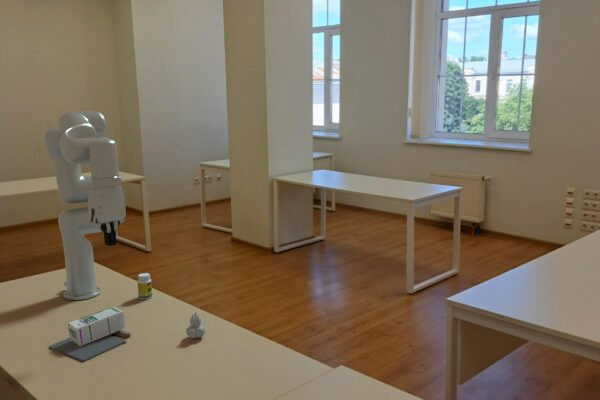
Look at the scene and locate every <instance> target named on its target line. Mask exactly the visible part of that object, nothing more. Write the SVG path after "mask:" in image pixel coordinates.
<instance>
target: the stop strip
mask: <svg viewBox="0 0 600 400" xmlns="http://www.w3.org/2000/svg"><path fill="white" fill-rule="evenodd" d="M113 334H114V335H117V336H120V337H123V338H126V339H129V338H131V333H130V332H128V331H125V330H123V329H122V330H119V331H117V332H114V333H113Z"/></svg>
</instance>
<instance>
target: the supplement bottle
mask: <svg viewBox="0 0 600 400" xmlns="http://www.w3.org/2000/svg"><path fill="white" fill-rule="evenodd" d="M152 288H153V287H152V279H151V275H150V273H148V272H145V273H140V274H139V273H138V275H137V295H138V299H139V300H149V299H152V298H153V289H152Z"/></svg>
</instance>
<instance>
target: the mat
mask: <svg viewBox="0 0 600 400" xmlns="http://www.w3.org/2000/svg"><path fill="white" fill-rule="evenodd" d="M126 343H127V340H124V339H121V338H119V337H116V336H113V335H111V334H109V335H107V336H105V337H102V338H100V339H97V340H95V341H92V342H90V343H87V344H85V345H82V346H79V345H77V344H76V343H75V342H73V341H71V339H70V337H67V338H65V339H63V340H59V341H58V342H56V343H53V344H51V345H49V346H48V349H51V350H53V349H54V350H53V351H56V352H57V353H58V352H59V353H60V354H63V355H66V356H68V357H70V358H72V359H75V360H78V361H80V362H83V363H85V362H87V361H88V360H91V359H93V358H96V357H99V356H100V355H102V354H104V353H106V352H109V351H111V350H113V349H115V348H117V347H120V346H122V345H124V344H126Z"/></svg>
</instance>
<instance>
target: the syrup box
mask: <svg viewBox="0 0 600 400" xmlns="http://www.w3.org/2000/svg"><path fill="white" fill-rule="evenodd" d="M124 316H125V315H124V311H123V310H121V309H119V308H118V307H115V306H111V307H108V308H106V309H101V310H100V311H96V312H94V313H93V314H89V315H85V316H84V317H80V318H79V319H76V320H73V321H70V322H68V324H67V327H68V334H69V338H70V339H71V341H73V342H75V343H76V344H77V345H79V346H82V345H85V344H87V343H90V342H92V341H95V340H97V339H100V338H102V337H105V336H107V335H112V334H114V332H117V331H119V330H122V331H123V330H124V329H126V328H125V327H126V325H125V317H124Z"/></svg>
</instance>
